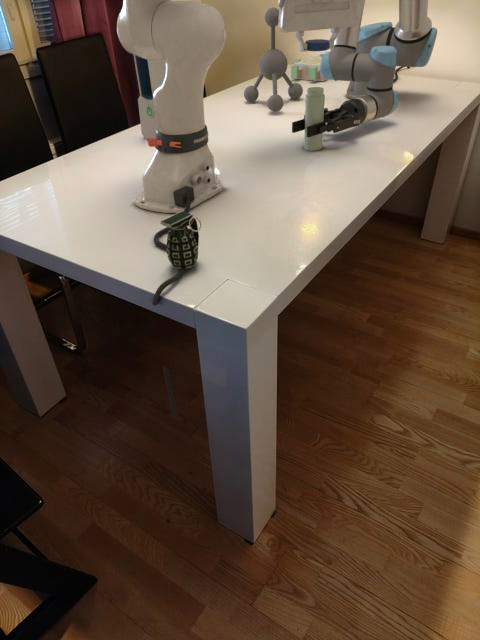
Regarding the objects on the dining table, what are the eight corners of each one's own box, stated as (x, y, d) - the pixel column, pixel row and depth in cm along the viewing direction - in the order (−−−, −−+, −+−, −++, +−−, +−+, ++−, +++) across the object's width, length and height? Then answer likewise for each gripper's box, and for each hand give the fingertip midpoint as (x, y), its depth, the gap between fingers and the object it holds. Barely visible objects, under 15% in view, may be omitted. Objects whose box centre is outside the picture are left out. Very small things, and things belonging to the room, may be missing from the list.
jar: (304, 145, 142) (305, 86, 132) (321, 144, 141) (324, 86, 132) (304, 150, 138) (306, 91, 128) (322, 150, 137) (325, 90, 128)
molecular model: (322, 103, 175) (328, 5, 157) (274, 116, 166) (273, 12, 147) (282, 92, 191) (282, 1, 172) (235, 103, 181) (230, 8, 163)
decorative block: (312, 52, 220) (353, 55, 210) (311, 68, 224) (351, 71, 214) (282, 63, 204) (325, 66, 194) (282, 79, 208) (324, 84, 198)
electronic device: (141, 137, 154) (123, 28, 136) (159, 131, 158) (144, 24, 140) (166, 145, 147) (151, 30, 129) (185, 138, 151) (172, 26, 133)
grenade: (182, 278, 88) (175, 228, 82) (162, 268, 91) (153, 219, 85) (208, 263, 92) (203, 214, 85) (187, 253, 95) (181, 205, 89)
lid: (330, 50, 122) (330, 42, 120) (305, 51, 122) (305, 43, 121) (327, 46, 126) (327, 38, 125) (304, 47, 127) (304, 39, 126)
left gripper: (283, -13, 111) (282, 55, 120) (364, -18, 115) (358, 48, 124) (274, -14, 116) (274, 51, 125) (352, -19, 120) (347, 44, 129)
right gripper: (379, 131, 141) (323, 151, 130) (333, 119, 152) (278, 136, 141) (383, 103, 136) (325, 122, 125) (334, 93, 148) (278, 109, 137)
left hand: (316, 50), depth 124 cm, fingers closed on lid, 6 cm apart
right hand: (300, 129), depth 133 cm, fingers closed on jar, 5 cm apart
